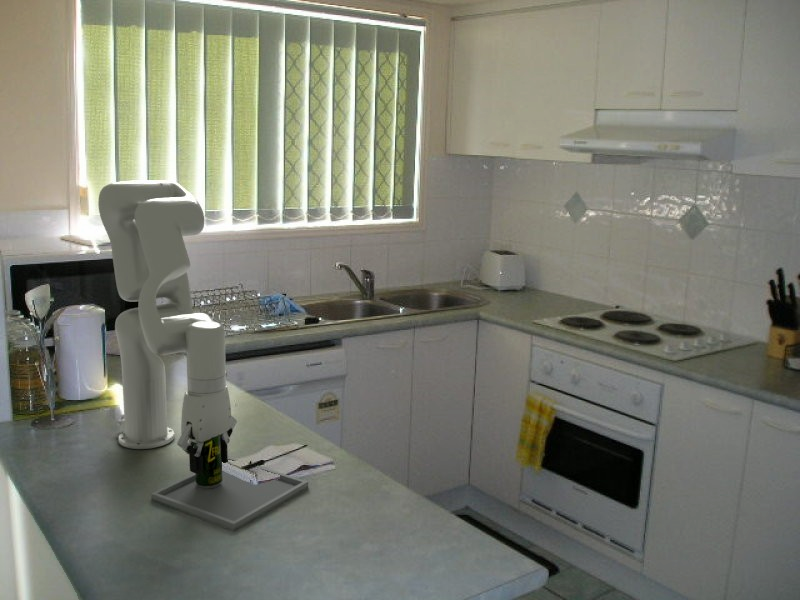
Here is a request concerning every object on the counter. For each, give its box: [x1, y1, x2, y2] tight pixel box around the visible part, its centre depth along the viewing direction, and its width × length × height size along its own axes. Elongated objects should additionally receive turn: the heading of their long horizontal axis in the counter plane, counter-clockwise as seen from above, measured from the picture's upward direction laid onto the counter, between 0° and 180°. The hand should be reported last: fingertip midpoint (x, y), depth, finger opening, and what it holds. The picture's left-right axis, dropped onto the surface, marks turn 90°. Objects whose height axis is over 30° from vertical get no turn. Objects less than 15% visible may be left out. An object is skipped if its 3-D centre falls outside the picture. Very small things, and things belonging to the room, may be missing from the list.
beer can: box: [194, 434, 222, 489], centre depth 169 cm, size 5×5×12 cm
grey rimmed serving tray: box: [150, 456, 309, 532], centre depth 167 cm, size 22×22×2 cm
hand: (209, 466), depth 170 cm, fingers open, 6 cm apart
